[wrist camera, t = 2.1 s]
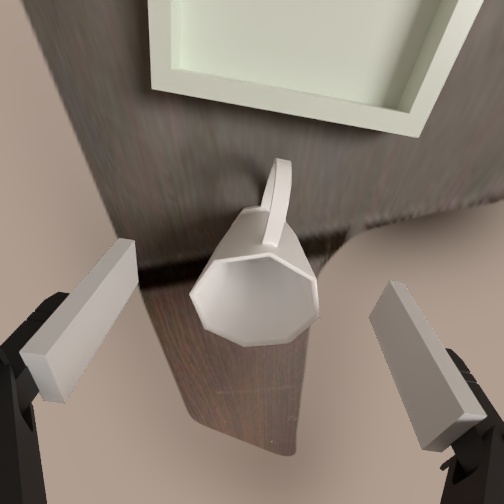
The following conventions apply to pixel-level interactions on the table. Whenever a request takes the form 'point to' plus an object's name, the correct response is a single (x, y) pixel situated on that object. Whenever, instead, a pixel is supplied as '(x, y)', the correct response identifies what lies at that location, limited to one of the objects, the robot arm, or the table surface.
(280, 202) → the cup
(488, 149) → the table surface
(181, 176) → the table surface
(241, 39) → the tray
